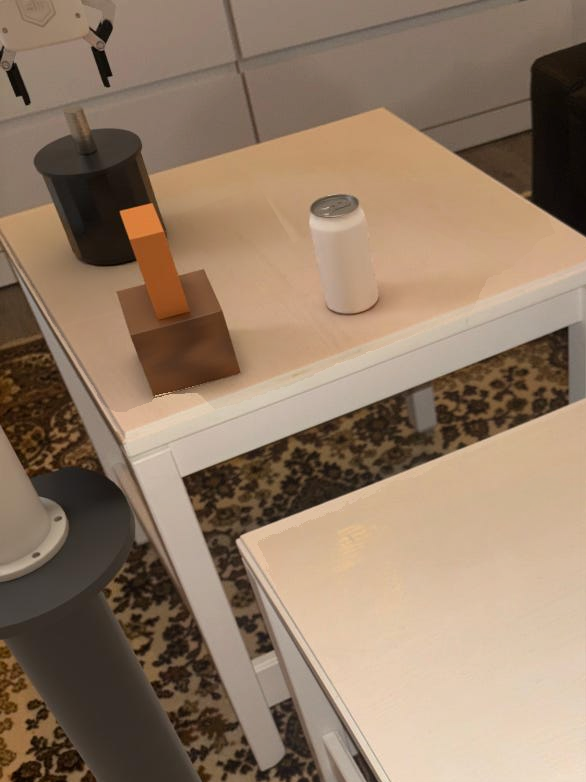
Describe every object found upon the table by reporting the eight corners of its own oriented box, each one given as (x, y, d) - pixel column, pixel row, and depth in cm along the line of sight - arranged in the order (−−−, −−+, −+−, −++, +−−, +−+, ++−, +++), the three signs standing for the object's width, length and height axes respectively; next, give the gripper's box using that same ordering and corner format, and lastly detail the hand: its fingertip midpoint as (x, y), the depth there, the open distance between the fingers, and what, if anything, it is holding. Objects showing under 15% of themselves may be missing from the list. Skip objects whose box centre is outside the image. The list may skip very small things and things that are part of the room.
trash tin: (79, 273, 129) (44, 186, 121) (68, 232, 137) (34, 148, 129) (173, 250, 132) (145, 162, 123) (157, 211, 140) (130, 126, 131)
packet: (157, 320, 105) (129, 239, 98) (147, 290, 109) (119, 210, 103) (190, 311, 106) (163, 231, 99) (178, 282, 110) (152, 202, 103)
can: (316, 304, 120) (294, 207, 111) (357, 282, 123) (339, 186, 114) (348, 322, 117) (328, 224, 108) (390, 300, 120) (374, 202, 111)
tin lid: (42, 194, 121) (21, 141, 116) (32, 152, 129) (12, 102, 125) (152, 168, 123) (135, 116, 119) (135, 129, 132) (119, 79, 127)
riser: (154, 398, 110) (129, 335, 104) (139, 353, 116) (116, 291, 110) (241, 374, 112) (222, 310, 105) (222, 331, 118) (203, 268, 112)
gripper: (-75, -51, 103) (-3, 119, 116) (89, -82, 107) (142, 87, 120) (-77, -68, 108) (-7, 97, 121) (81, -97, 111) (132, 67, 124)
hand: (67, 92), depth 120 cm, fingers open, 9 cm apart
